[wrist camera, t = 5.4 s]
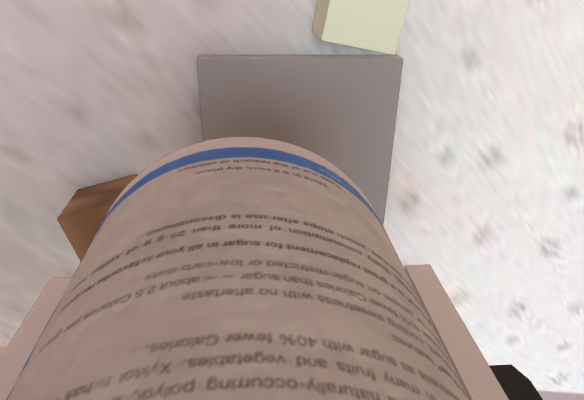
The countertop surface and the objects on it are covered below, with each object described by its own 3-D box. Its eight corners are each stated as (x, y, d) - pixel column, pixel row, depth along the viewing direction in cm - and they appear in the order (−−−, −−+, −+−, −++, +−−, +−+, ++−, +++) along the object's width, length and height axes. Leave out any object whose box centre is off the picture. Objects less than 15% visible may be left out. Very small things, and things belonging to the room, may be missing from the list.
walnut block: (104, 238, 33) (87, 272, 29) (78, 189, 31) (56, 219, 27) (159, 224, 33) (148, 256, 29) (136, 173, 31) (122, 201, 27)
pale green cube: (311, 30, 28) (321, 40, 24) (326, -45, 26) (339, -46, 22) (375, 43, 28) (394, 54, 25) (394, -30, 27) (417, -28, 23)
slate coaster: (211, 230, 33) (210, 239, 32) (198, 55, 28) (196, 58, 27) (377, 224, 34) (382, 233, 33) (397, 54, 29) (403, 58, 28)
